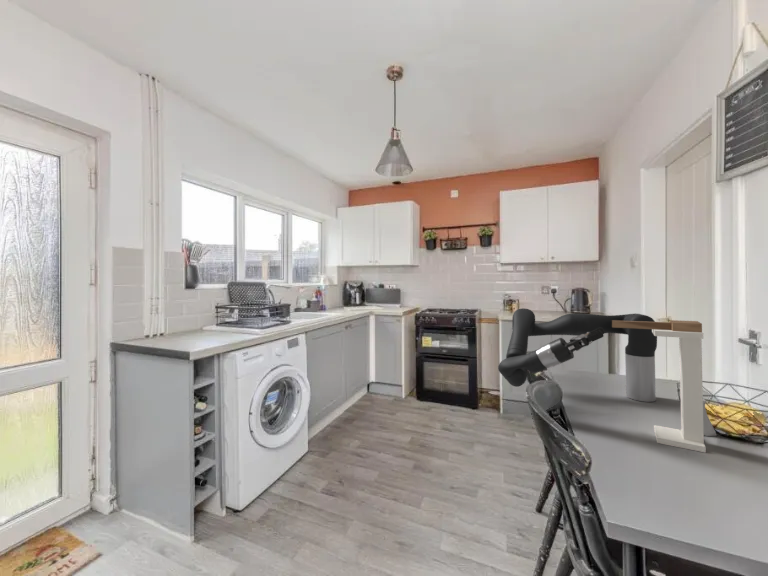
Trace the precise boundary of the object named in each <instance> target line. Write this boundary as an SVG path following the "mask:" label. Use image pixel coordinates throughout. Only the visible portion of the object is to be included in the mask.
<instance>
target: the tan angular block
mask: <svg viewBox="0 0 768 576" xmlns="http://www.w3.org/2000/svg"><path fill="white" fill-rule="evenodd" d="M612 327H613V328H636V329H658V330H672V331H682V332H702V333H703V324H702V322H700V321H698V320H676V319H675V320H674V319H673V320H672V319H670V320H669V321H655V322H646V321H617V320H612Z"/></svg>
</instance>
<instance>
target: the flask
mask: <svg viewBox="0 0 768 576" xmlns="http://www.w3.org/2000/svg"><path fill="white" fill-rule="evenodd" d="M706 403H707V400H706V399H705V398H703V433H704V436H706V437H712V436H717V433H716V431H715V428H714V426H713V425H712V422H711V419H710V418H709V416H708V415H709V414H707V410H706Z"/></svg>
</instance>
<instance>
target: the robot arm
mask: <svg viewBox="0 0 768 576" xmlns="http://www.w3.org/2000/svg"><path fill="white" fill-rule="evenodd" d="M612 320H617V321H646V322H656V321H655V320H654V318H652V317H651V316H649V315H646V314H640V313H629V314H628V313H627V314H617V315H603V314H594V313H567V314H563V315H561V316H559V317H557V318H555V319H552V320H549V321H546V322H538V323H537V322H536V315H535V313H534V312H533V311H532V310H531V309H529V308H523V307H522V308H517V309H516V310H515V311H514V312H513V313H512V320H511V321H512V322H511V324H512V325H511V326H512V327H511V329H512V331H511V337H510V340H509V343H508V346H507V351H506V355H505V359H502V361H500V362H499V363H498V366H497V367H498V371H499V373H500V374H501V376H503V378H504V379H505V380H506V381H507V382H508V383H509V384H510V385H511V386H513V387H514V388H515V387H522V385H524V384H525V383H526V381H527V380H528V379H527V378H528V372H530V373H532V374H537V373H540V372H542V371H545V370H548V369H550V368H552V367H553V368H554V367H556V366H559V365H560V364H563V363H566V362H568V361H570V360H572V359H574V358H575V356H574V354H575V353H574V352H575V351H576V352H577V351H580V350H582V349H584V348H585V347H588V346H589V345H591V344H592V343H593V342H595V341H597V340H600V339H602V338H604V336H605V334H616V335H617V334H621V335H627V340H628V341H627V345H626V346H625V348H624V355H625V356H624V357H625V358H624V359H625V363H624V364H625V396H626V397H627V398H628V399H631V400H635V401H639V402H651V403H652V402H656V401H657V400H656V399H657V395H656V394H657V392H656V389H657V387H656V356H655V355H656V350H657V346H658V336H654V334H653V332H652V329H636V328H613V327H612ZM536 336H537V337H539V336H573V337H572V338H570V339H569V341H568V342H567V341H566V339H564V338H563V337H559V338H557V339H554V340H552V341H550V342H548V343H547V344H544V345H542V346H540V347H538V348H537V349H535V350H534V351H531V352H529V353H528V344H529V343H528V342H529V337H536Z"/></svg>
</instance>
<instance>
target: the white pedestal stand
mask: <svg viewBox="0 0 768 576" xmlns="http://www.w3.org/2000/svg"><path fill="white" fill-rule="evenodd" d="M652 332H653V334H654V336H657V337H665V338H666V337H667V338H678V339H679V340H678V341H679V342H678V343H679V344H678V345H679V389H680V392H679V393H680V429H678V428H672V427H666V426H663V425H662V426H661V425H655V424H653V431H654V435H655V440H656V443H657V444H662V445H666V446H672V447H676V448H681V449H686V450H691V451H696V452H701V453H704V454H705V453H706V452H707V451H706V450H707V449H706V445H705V442H704V438H705V437H704V436H705V435H704V433H703V399H704V397H703V389H704V387H703V351H702V350H703V348H702V342H703V341H702V339H704V333H703V331H702V332H682V331H672V330H658V329H652Z"/></svg>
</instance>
